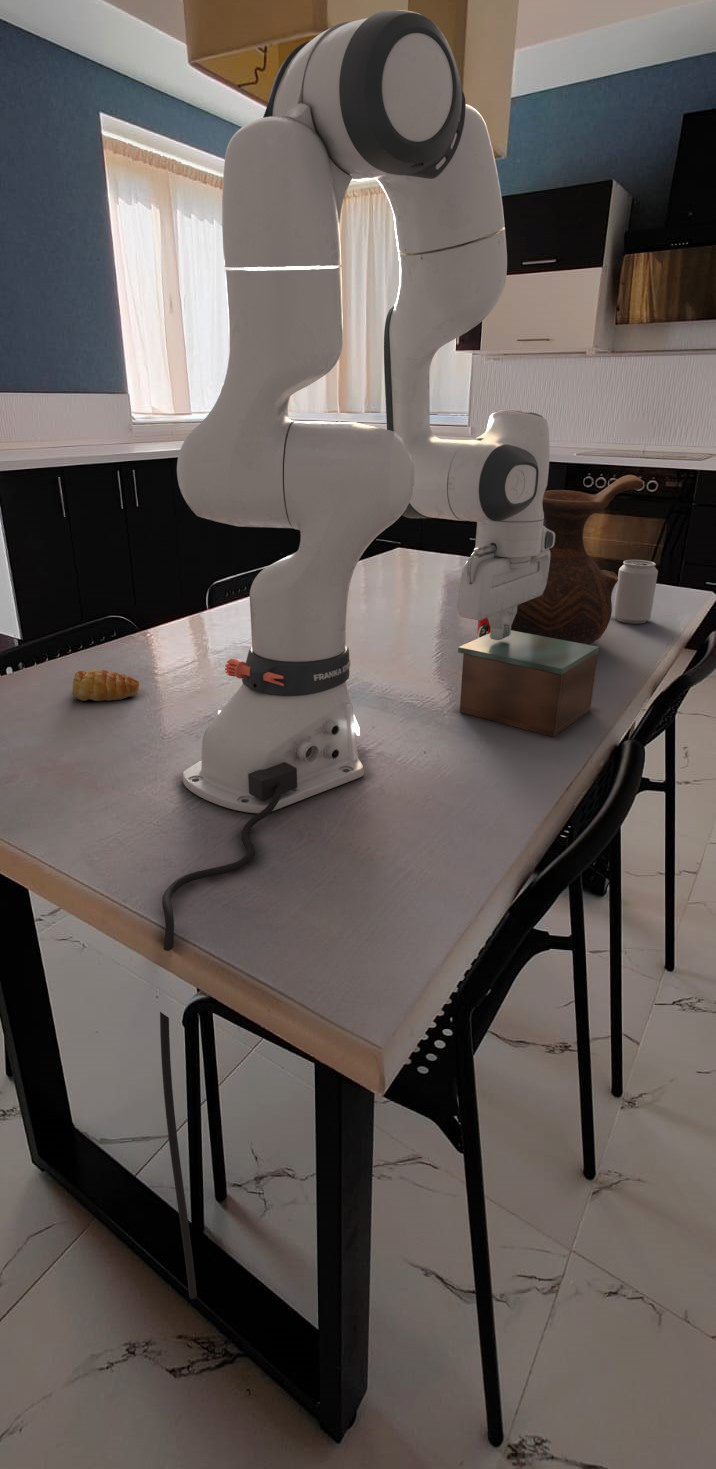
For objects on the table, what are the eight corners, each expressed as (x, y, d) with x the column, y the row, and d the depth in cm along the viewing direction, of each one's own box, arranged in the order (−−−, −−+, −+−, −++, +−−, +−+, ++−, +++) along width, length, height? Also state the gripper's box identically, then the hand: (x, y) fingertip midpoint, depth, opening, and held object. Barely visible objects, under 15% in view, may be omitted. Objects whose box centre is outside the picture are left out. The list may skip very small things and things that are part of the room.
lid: (457, 652, 108) (458, 647, 108) (500, 633, 117) (500, 628, 117) (561, 674, 99) (562, 668, 99) (598, 652, 109) (599, 646, 108)
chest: (459, 712, 111) (463, 653, 107) (500, 688, 120) (505, 634, 117) (553, 737, 103) (561, 675, 99) (590, 710, 112) (598, 652, 109)
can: (653, 618, 160) (663, 560, 156) (644, 626, 155) (654, 566, 150) (617, 613, 164) (625, 556, 159) (607, 621, 158) (615, 562, 154)
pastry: (143, 686, 119) (140, 663, 118) (135, 702, 113) (132, 678, 112) (81, 688, 119) (78, 664, 117) (70, 704, 113) (66, 679, 111)
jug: (562, 669, 129) (585, 482, 117) (465, 641, 144) (477, 472, 132) (632, 646, 142) (658, 475, 130) (536, 622, 157) (552, 467, 145)
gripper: (492, 552, 95) (484, 659, 101) (560, 533, 110) (550, 626, 116) (448, 546, 99) (443, 650, 104) (520, 528, 114) (512, 619, 119)
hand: (500, 637), depth 110 cm, fingers closed
